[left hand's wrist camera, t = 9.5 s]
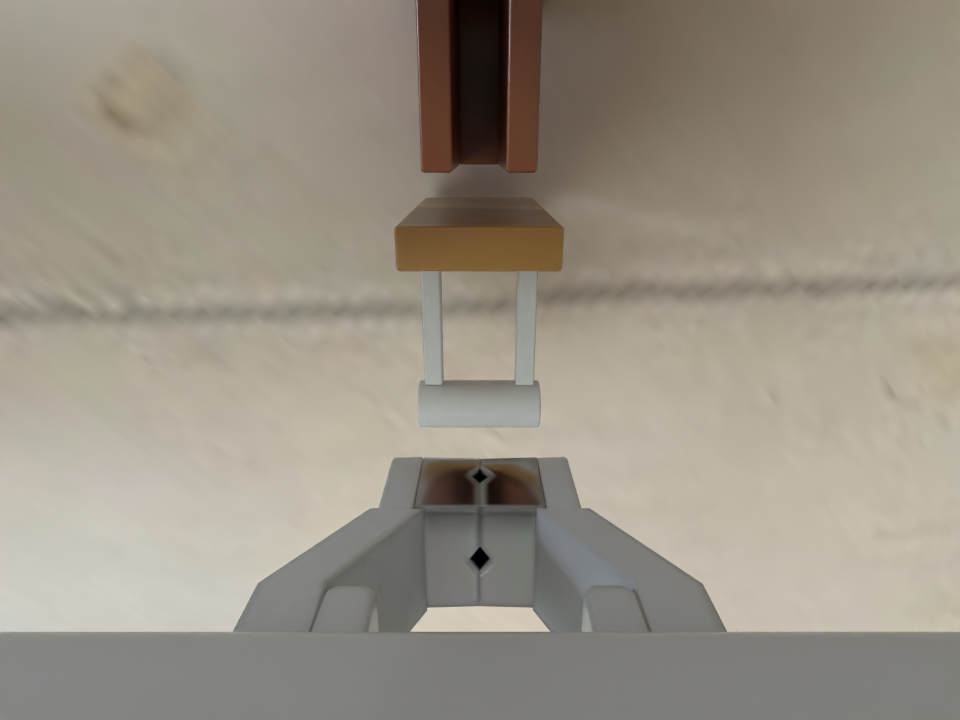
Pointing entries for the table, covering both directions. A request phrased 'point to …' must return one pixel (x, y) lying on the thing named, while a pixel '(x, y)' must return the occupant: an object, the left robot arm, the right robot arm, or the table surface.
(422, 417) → the drawer
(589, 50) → the table surface
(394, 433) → the table surface
